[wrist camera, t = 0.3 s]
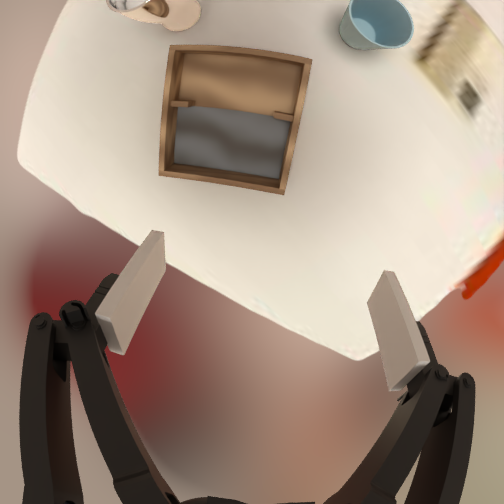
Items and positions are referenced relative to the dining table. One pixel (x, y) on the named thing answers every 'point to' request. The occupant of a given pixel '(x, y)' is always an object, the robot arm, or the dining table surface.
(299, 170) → the dining table surface
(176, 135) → the caddy
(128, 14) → the shiny metal cylinder
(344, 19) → the cup
